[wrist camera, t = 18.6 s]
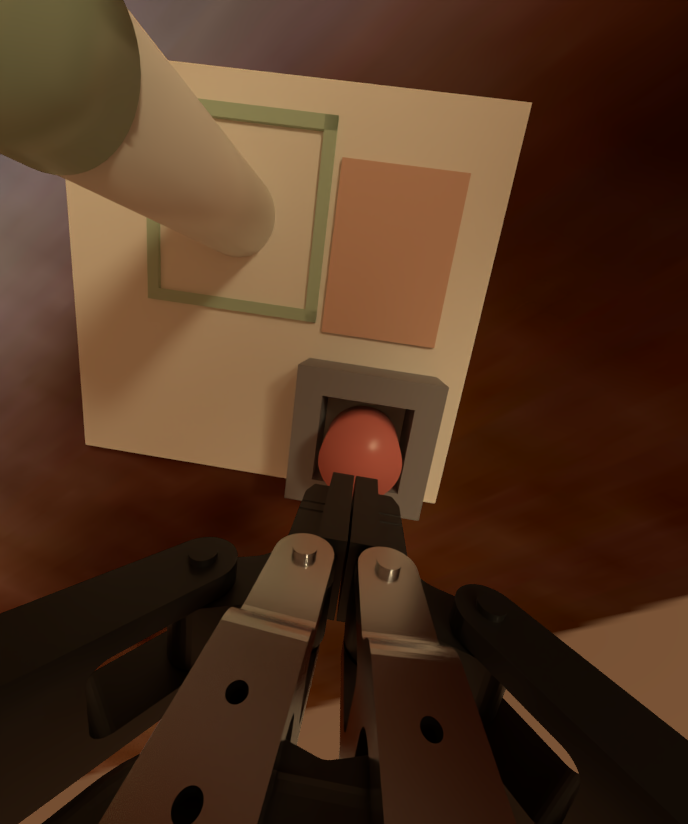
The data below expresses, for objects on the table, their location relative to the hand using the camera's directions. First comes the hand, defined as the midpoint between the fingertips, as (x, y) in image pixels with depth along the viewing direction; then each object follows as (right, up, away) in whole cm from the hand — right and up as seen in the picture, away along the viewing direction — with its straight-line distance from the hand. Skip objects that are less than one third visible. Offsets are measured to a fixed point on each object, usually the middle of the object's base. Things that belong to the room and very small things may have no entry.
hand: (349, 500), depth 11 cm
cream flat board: (-4, +9, +8) cm, 12 cm away
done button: (+1, +2, +6) cm, 6 cm away
